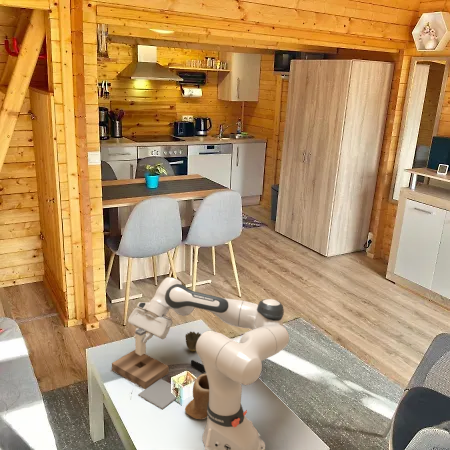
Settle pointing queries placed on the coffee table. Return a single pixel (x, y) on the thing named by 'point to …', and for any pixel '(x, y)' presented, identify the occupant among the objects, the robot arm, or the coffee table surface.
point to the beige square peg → (140, 342)
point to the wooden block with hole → (140, 369)
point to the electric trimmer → (198, 366)
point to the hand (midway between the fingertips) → (139, 340)
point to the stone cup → (199, 398)
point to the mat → (159, 394)
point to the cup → (192, 340)
